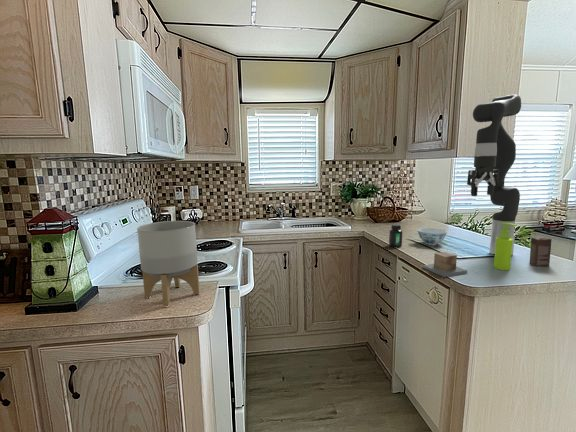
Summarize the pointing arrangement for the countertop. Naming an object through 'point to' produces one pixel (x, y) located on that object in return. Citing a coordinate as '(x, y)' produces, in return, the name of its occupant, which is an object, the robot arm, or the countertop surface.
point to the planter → (168, 256)
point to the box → (540, 251)
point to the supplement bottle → (395, 236)
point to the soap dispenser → (503, 248)
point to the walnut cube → (445, 261)
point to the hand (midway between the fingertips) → (482, 195)
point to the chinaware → (432, 235)
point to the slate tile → (445, 273)
